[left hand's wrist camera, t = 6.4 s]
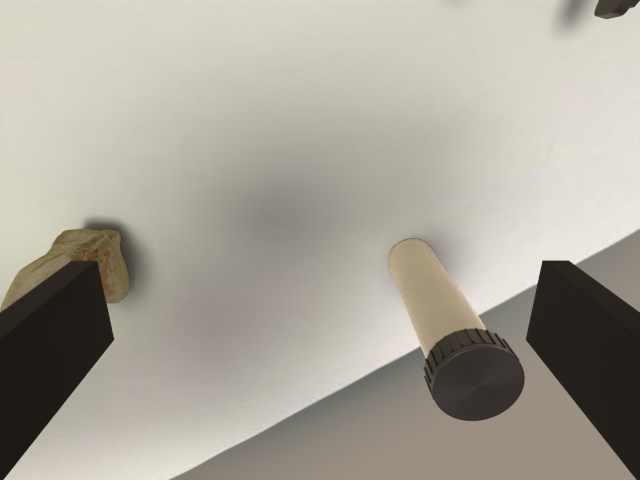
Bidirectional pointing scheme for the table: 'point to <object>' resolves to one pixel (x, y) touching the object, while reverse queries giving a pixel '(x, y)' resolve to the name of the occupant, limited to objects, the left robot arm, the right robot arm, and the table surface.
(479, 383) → the lid
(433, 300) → the jar
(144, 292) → the table surface
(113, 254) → the sculpture
